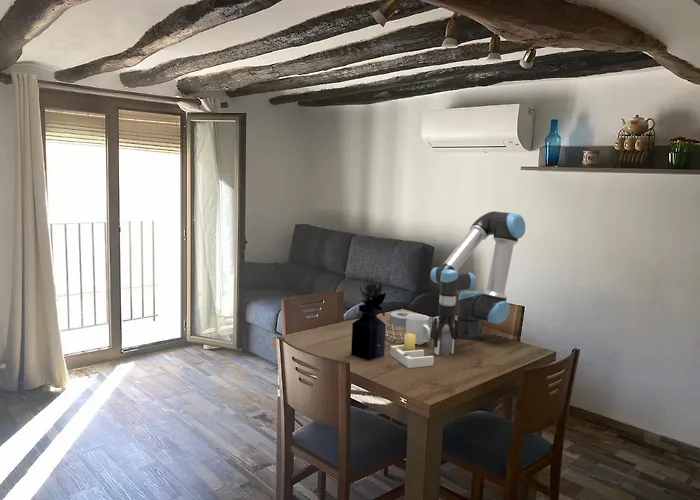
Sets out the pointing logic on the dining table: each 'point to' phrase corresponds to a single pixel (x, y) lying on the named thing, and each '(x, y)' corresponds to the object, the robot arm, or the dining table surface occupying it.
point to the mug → (418, 327)
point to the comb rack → (411, 357)
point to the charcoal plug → (444, 343)
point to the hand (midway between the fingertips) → (443, 353)
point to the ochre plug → (409, 342)
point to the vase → (369, 325)
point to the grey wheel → (399, 318)
